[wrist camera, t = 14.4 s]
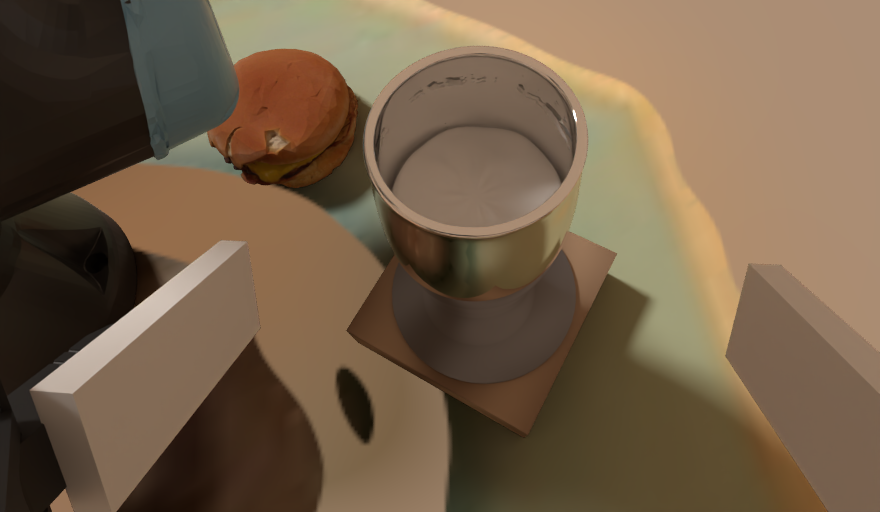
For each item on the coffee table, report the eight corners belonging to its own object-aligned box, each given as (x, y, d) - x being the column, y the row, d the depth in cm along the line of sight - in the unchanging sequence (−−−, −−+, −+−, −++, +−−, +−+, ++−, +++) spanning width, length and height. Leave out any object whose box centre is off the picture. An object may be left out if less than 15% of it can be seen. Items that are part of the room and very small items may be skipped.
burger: (326, 59, 41) (307, 10, 36) (384, 148, 38) (371, 107, 33) (206, 119, 40) (172, 77, 35) (255, 217, 36) (224, 183, 32)
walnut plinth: (358, 342, 32) (345, 329, 29) (448, 197, 36) (445, 171, 33) (524, 437, 30) (528, 434, 27) (605, 271, 33) (618, 251, 30)
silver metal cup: (555, 250, 30) (616, 61, 16) (525, 371, 28) (567, 273, 14) (436, 220, 31) (398, 22, 17) (398, 334, 29) (319, 210, 15)
